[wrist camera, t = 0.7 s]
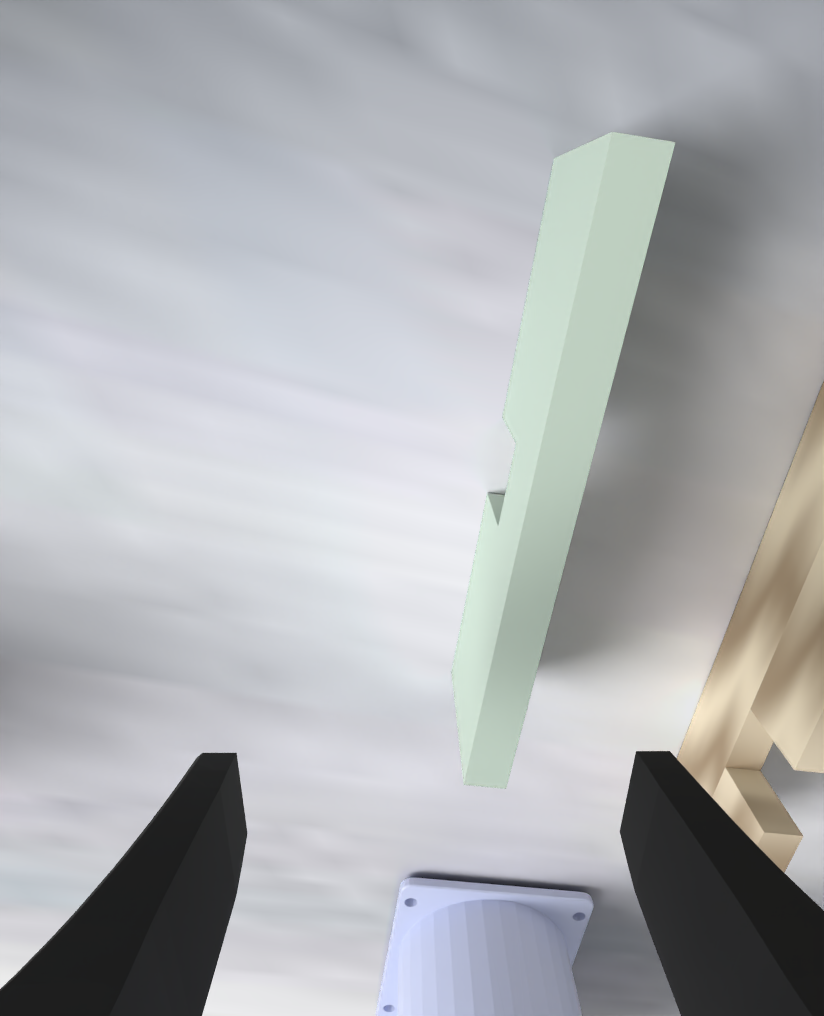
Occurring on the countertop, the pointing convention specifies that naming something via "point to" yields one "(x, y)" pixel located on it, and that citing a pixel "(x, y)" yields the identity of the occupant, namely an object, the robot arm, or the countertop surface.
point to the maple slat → (770, 664)
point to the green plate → (551, 430)
